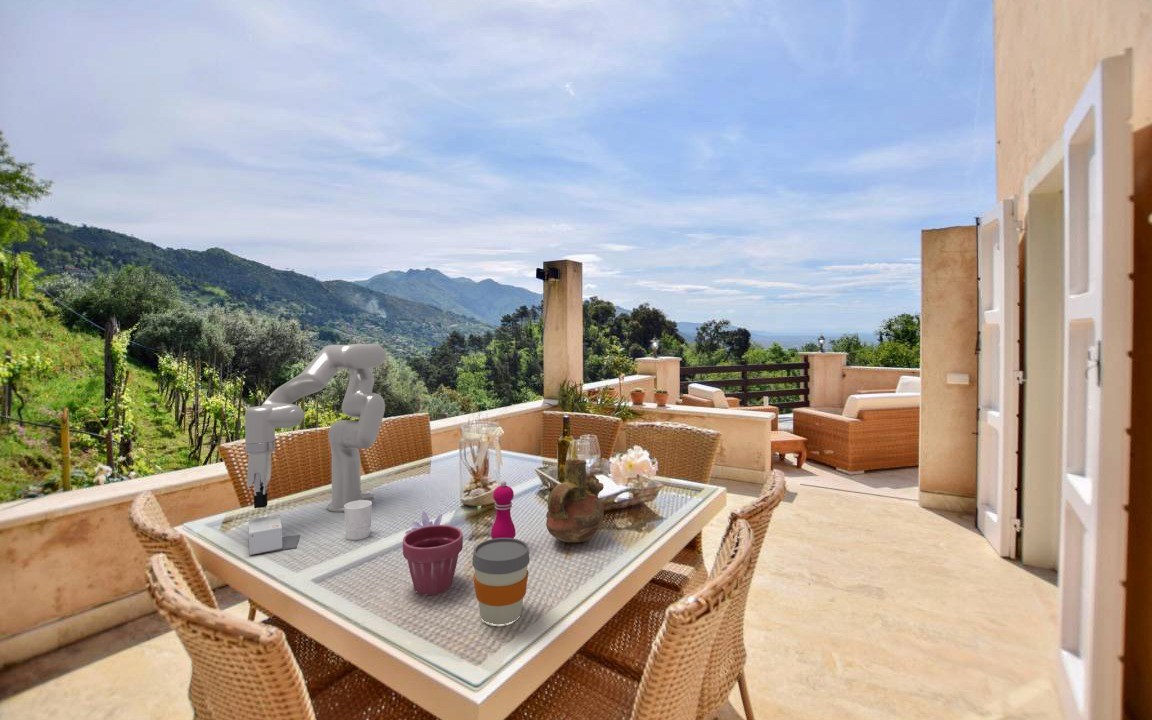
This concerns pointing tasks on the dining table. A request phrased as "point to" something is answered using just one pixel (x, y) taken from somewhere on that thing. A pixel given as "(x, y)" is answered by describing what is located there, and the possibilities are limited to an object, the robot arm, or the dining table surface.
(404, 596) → the dining table surface
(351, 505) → the white cup
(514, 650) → the dining table surface
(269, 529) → the small box
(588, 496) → the ceramic vessel
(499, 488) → the pepper mill
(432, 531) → the plant pot
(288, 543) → the mat
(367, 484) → the dining table surface
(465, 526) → the dining table surface
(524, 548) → the reusable coffee cup
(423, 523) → the water lily
